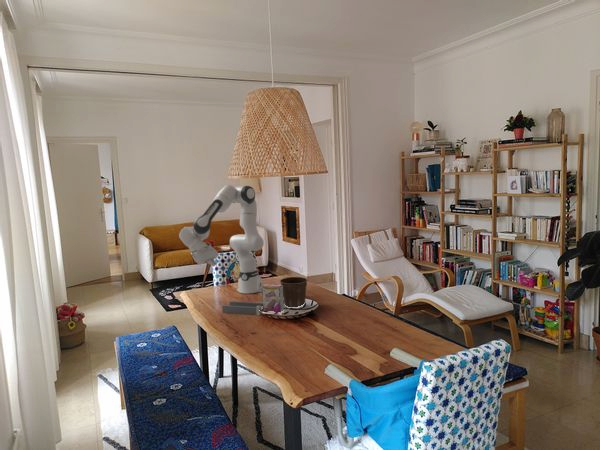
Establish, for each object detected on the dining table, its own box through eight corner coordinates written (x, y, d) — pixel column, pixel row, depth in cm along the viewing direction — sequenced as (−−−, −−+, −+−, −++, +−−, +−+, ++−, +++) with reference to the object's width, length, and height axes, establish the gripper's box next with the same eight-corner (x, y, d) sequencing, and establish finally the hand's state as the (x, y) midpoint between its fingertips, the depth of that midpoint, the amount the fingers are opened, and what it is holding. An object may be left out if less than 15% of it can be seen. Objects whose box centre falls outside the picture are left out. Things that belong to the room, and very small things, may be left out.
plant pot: (314, 306, 263) (313, 279, 261) (291, 312, 253) (289, 284, 252) (298, 301, 276) (297, 275, 274) (276, 306, 267) (274, 280, 265)
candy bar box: (262, 314, 253) (261, 286, 251) (266, 311, 257) (264, 283, 256) (281, 315, 249) (279, 286, 247) (284, 313, 253) (283, 284, 252)
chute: (231, 307, 270) (231, 298, 270) (268, 309, 262) (267, 300, 262) (221, 313, 259) (221, 304, 259) (259, 315, 251) (258, 306, 250)
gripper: (192, 248, 260) (208, 265, 258) (211, 242, 279) (226, 258, 277) (186, 256, 262) (202, 272, 260) (205, 249, 281) (220, 265, 279)
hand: (214, 265), depth 268 cm, fingers closed
